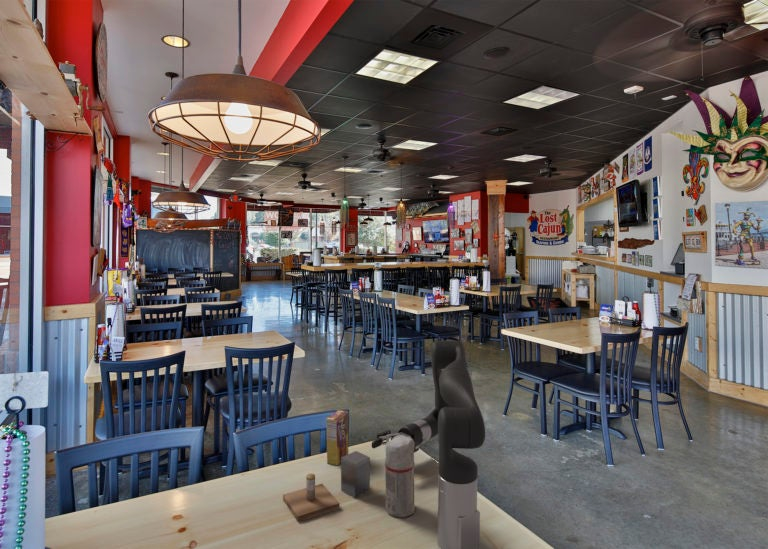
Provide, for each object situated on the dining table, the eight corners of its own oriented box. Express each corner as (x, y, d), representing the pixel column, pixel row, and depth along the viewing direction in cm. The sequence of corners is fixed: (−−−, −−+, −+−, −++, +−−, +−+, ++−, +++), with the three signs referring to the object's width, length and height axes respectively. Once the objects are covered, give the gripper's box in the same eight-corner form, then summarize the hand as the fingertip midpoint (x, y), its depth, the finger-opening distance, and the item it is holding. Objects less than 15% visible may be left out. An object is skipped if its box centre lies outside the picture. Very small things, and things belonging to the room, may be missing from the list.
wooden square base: (339, 508, 121) (339, 479, 120) (297, 522, 114) (297, 491, 114) (322, 488, 131) (322, 461, 131) (283, 499, 125) (282, 471, 124)
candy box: (337, 452, 155) (337, 409, 154) (348, 454, 153) (348, 411, 153) (325, 463, 146) (325, 418, 146) (337, 465, 145) (337, 420, 144)
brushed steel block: (369, 490, 130) (369, 457, 129) (354, 498, 126) (354, 464, 125) (356, 482, 134) (356, 450, 134) (341, 490, 130) (341, 457, 129)
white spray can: (412, 520, 115) (413, 446, 114) (382, 517, 117) (382, 443, 116) (417, 503, 123) (417, 433, 123) (388, 499, 125) (388, 430, 124)
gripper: (399, 417, 154) (366, 431, 143) (431, 429, 144) (398, 445, 133) (399, 438, 155) (366, 453, 143) (431, 451, 145) (398, 469, 133)
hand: (381, 449), depth 138 cm, fingers open, 8 cm apart
